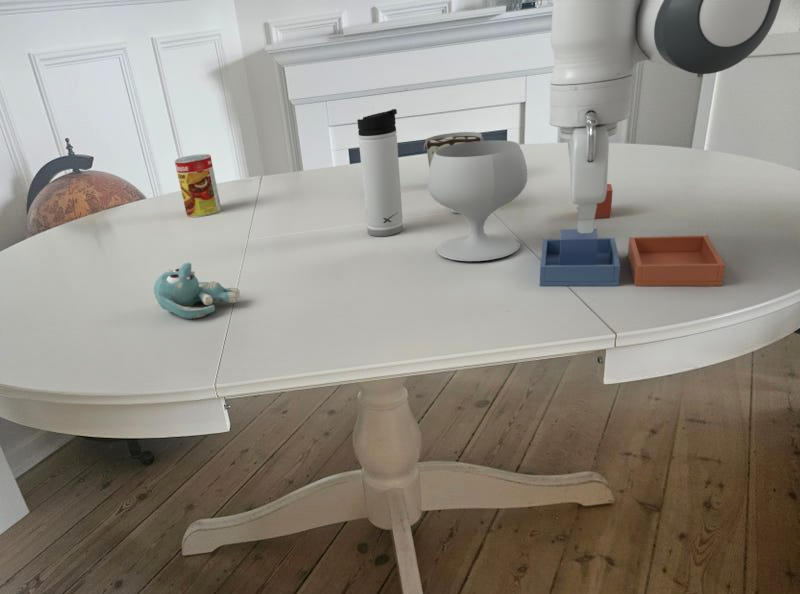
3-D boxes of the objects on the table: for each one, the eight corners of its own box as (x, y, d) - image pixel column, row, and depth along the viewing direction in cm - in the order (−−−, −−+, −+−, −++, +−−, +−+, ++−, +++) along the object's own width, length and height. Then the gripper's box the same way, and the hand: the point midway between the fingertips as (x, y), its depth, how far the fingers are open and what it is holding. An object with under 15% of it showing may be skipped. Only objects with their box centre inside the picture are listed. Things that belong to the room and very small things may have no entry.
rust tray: (704, 254, 83) (707, 235, 82) (721, 286, 74) (725, 265, 73) (627, 255, 86) (629, 237, 85) (634, 286, 77) (636, 265, 76)
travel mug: (396, 237, 107) (387, 112, 98) (361, 236, 110) (349, 115, 101) (410, 226, 112) (402, 106, 102) (376, 225, 115) (366, 109, 106)
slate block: (594, 260, 85) (596, 228, 83) (595, 271, 81) (598, 238, 79) (559, 260, 86) (560, 229, 84) (559, 272, 82) (560, 239, 80)
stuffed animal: (229, 281, 81) (138, 272, 82) (229, 331, 85) (142, 322, 85) (246, 254, 91) (165, 247, 91) (246, 300, 94) (167, 293, 95)
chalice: (540, 257, 90) (543, 148, 83) (443, 271, 90) (439, 164, 83) (507, 231, 102) (508, 134, 95) (422, 243, 102) (417, 148, 95)
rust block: (608, 210, 105) (611, 183, 103) (610, 217, 102) (612, 190, 100) (580, 211, 107) (582, 185, 105) (580, 218, 103) (582, 191, 101)
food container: (483, 177, 138) (482, 129, 133) (484, 183, 132) (484, 133, 128) (426, 182, 140) (423, 135, 136) (425, 188, 135) (423, 140, 130)
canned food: (184, 212, 145) (172, 158, 140) (218, 205, 147) (207, 152, 141) (189, 219, 138) (176, 163, 133) (224, 212, 140) (213, 156, 135)
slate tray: (613, 255, 87) (614, 237, 86) (618, 286, 78) (620, 266, 76) (542, 256, 90) (543, 239, 89) (539, 286, 81) (540, 266, 80)
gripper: (625, 116, 65) (617, 245, 71) (613, 91, 81) (607, 197, 88) (560, 122, 67) (557, 247, 73) (561, 97, 84) (558, 200, 90)
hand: (584, 220), depth 81 cm, fingers open, 8 cm apart
